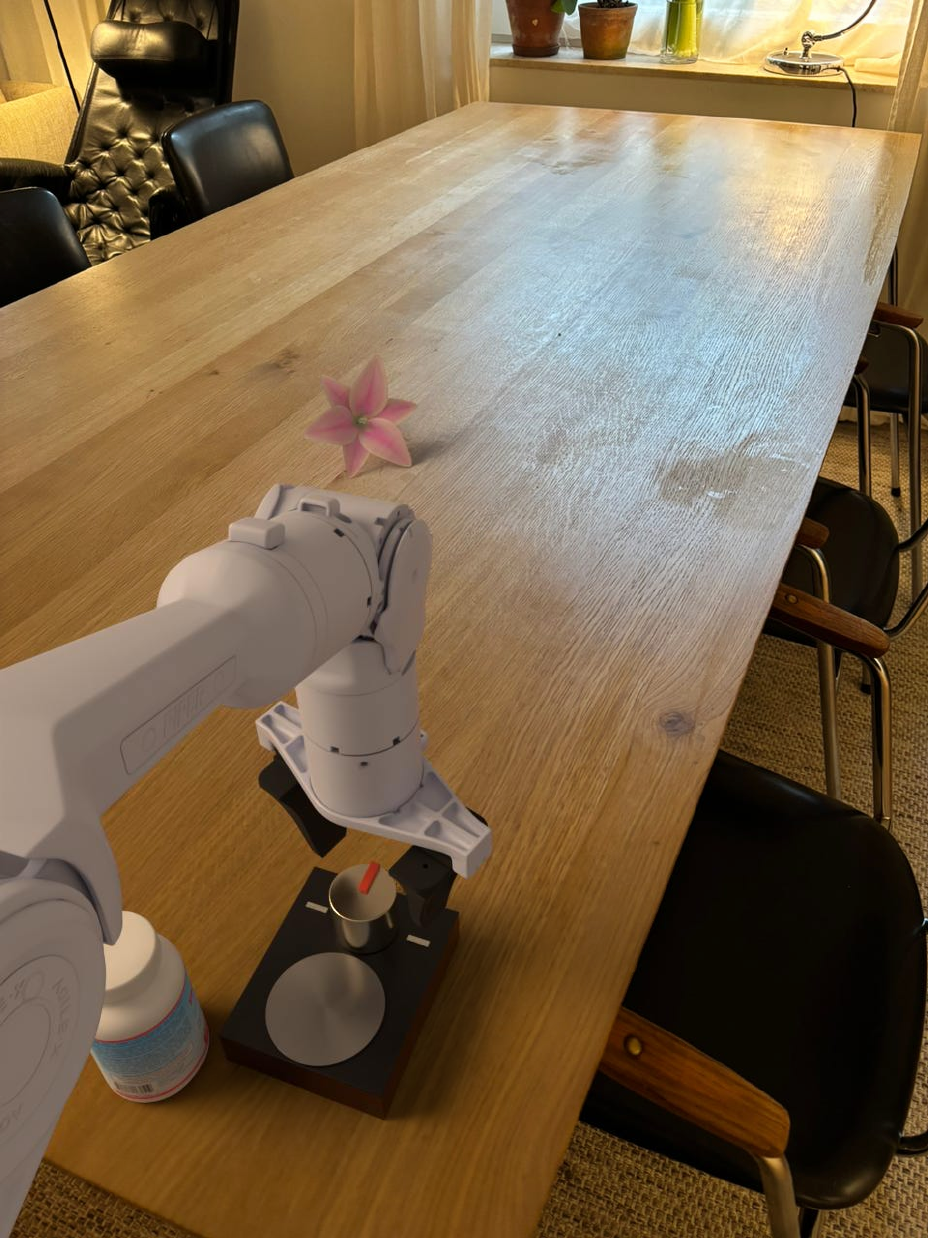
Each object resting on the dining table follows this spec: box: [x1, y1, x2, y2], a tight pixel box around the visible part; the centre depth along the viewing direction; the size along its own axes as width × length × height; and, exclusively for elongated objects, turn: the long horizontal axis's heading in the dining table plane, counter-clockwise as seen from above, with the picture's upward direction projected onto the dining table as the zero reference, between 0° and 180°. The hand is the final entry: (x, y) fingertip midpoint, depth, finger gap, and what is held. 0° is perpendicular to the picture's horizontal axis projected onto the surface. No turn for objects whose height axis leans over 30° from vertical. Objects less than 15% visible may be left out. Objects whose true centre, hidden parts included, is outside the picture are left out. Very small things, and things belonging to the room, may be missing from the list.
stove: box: [217, 865, 461, 1121], centre depth 60 cm, size 13×10×3 cm
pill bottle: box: [90, 910, 210, 1104], centre depth 54 cm, size 6×6×11 cm
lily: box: [300, 354, 419, 479], centre depth 106 cm, size 12×12×10 cm
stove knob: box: [329, 861, 400, 954], centre depth 59 cm, size 4×4×4 cm
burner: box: [265, 953, 385, 1067], centre depth 57 cm, size 7×7×1 cm
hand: (379, 878), depth 57 cm, fingers open, 7 cm apart
